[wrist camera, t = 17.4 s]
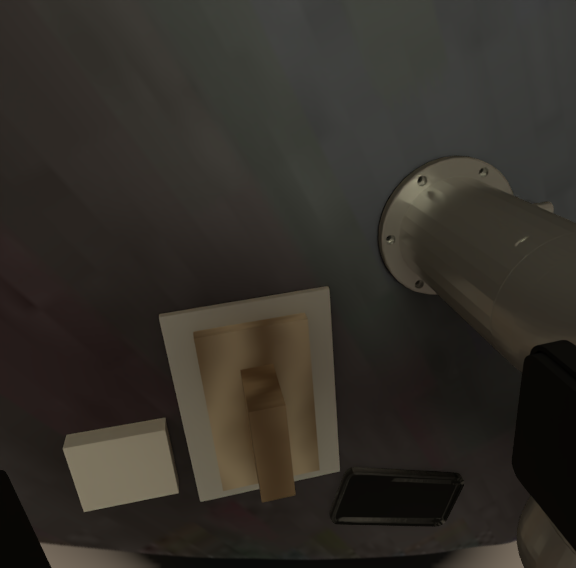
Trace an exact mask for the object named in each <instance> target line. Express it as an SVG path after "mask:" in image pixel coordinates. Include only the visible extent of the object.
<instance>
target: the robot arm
mask: <svg viewBox="0 0 576 568" xmlns="http://www.w3.org/2000/svg"><path fill="white" fill-rule="evenodd" d="M479 171H480V172H479ZM419 177H420V180H419V181H418V178H419ZM388 236H389V238H387V237H388ZM386 238H387V239H386ZM378 242H379V249H380V254H381V256H382V259H383V262H384V264H385V266H386V267H387V269H388V270H389V272H390V273H391V274H392V275H393V276H394V277H395V278H396V279H397V280H398V281H399V282H400V283H401V284H403V285H404V286H405V287H407V288H409V289H411V290H413V291H415V292H418V293H423V294H428V295H439V296H440V297H441V298H442V299H443V300H444V301H445V302H446V303H447V304H448V305H449V306H450V307H452V308H453V309H454V310H455V311H456V312H457V313H458V314H459V315H460V316H461V317H462V318H463V319H464V320H465V321H466V322H467V323H468V324H469V325H471V326H472V327H473V328H474V329H475V330H476V331H477V332H478V333H479V334H480V335H481V336H482V337H483V338H484V339H485V340H486V341H487V342H488V343H490V344H491V345H492V346H493V347H494V348H495V349H496V350H497V351H498V352H499V353H500V354H501V355H502V356H504V357H505V358H506V359H507V360H508V361H509V362H510V363H511V364H512V365H513V366H514V367H515V368H517V369H518V370H519V371H520V372H522V380H521V388H520V396H519V405H518V413H517V421H516V430H515V438H514V447H513V455H512V465H513V469H514V472H515V474H516V476H517V478H518V479H519V481H520V482H521V484H522V485H523V486H524V487H525V489H526V490H527V491H528V492H529V494H530V495H531V496H530V497H529V499H528V501H527V503H526V504H525V506H524V509H523V511H522V513H521V516H520V519H519V523H518V528H517V545H518V551H519V556H520V558H521V561H522V564H523V566H524V568H576V223H574V222H572V221H570V220H567V219H565V218H563V217H561V216H558V215H556V214H554V213H553V205H552V203H550V202H540V203H534V204H531V203H529V202H527V201H524V200H522V199H520V198H518V197H515V196H514V195H513V191H512V189H511V187H510V185H509V183H508V181H507V180H506V178H505V177H504V176H503V175H502V173H501V172H500V171H498V170H497V169H496V168H494V167H493V166H492V165H490V164H488V163H486V162H484V161H481V160H479V159H475V158H472V157H469V156H449V157H442V158H439V159H436V160H433V161H430V162H428V163H426V164H424V165H423V166H421V167H419V168H417V169H416V170H414V171H413V172H412V173H411V174H409V175H408V176H407V177H406V178H405V179H404V180H403V181H402V182H401V183H400V184H399V185H398V186H397V188H396V189H395V190H394V192H393V193H392V195H391V196H390V198H389V200H388V201H387V203H386V206H385V208H384V211H383V213H382V216H381V220H380V225H379V235H378ZM0 568H51V566H50V564H49V562H48V560H47V558H46V556H45V553H44V551H43V549H42V547H41V545H40V543H39V541H38V539H37V536H36V534H35V532H34V530H33V528H32V526H31V524H30V522H29V520H28V517H27V515H26V513H25V511H24V509H23V507H22V505H21V503H20V500H19V498H18V496H17V494H16V492H15V490H14V488H13V486H12V483H11V481H10V479H9V477H8V475H7V474H6V472H5V471H3V470H0Z"/></svg>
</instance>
